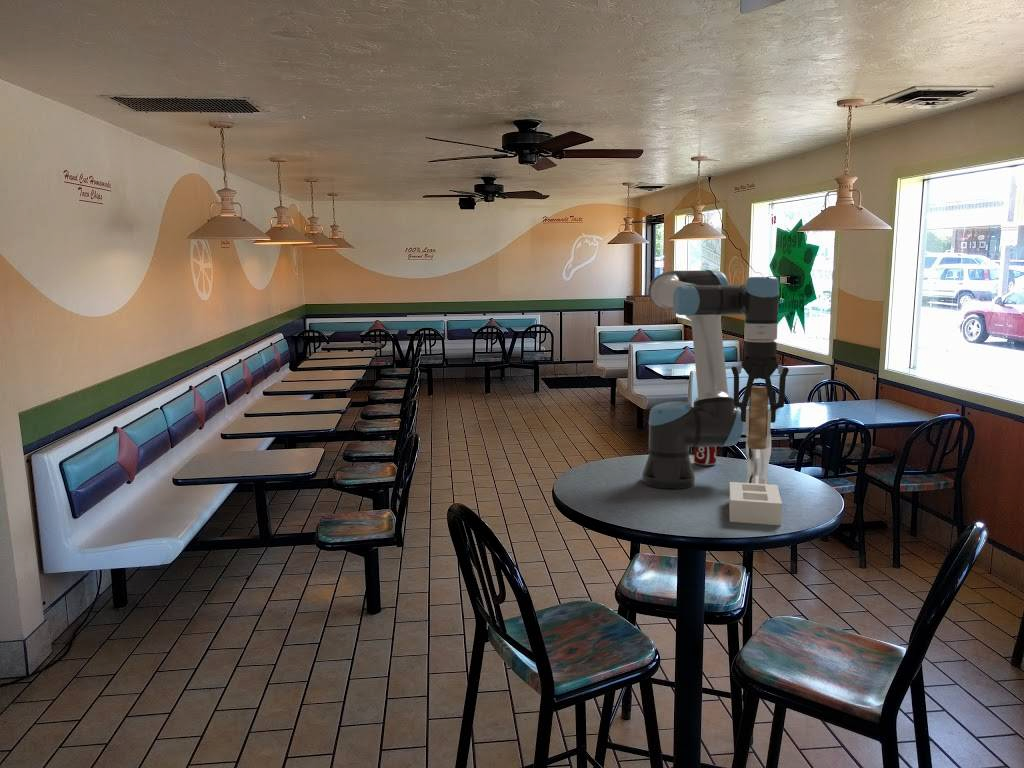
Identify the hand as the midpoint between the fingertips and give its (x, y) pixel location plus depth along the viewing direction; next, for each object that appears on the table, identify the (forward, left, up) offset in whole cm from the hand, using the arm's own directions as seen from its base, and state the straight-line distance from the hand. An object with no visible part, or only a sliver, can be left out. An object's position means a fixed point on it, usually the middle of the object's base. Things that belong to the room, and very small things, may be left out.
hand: (757, 434), depth 187 cm
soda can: (-13, +51, -21) cm, 57 cm away
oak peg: (0, 0, -3) cm, 3 cm away
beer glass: (+2, +31, -21) cm, 38 cm away
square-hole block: (0, +3, -21) cm, 21 cm away
